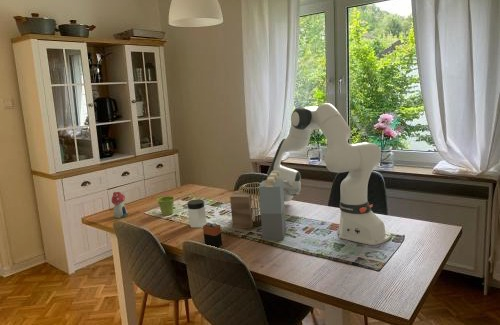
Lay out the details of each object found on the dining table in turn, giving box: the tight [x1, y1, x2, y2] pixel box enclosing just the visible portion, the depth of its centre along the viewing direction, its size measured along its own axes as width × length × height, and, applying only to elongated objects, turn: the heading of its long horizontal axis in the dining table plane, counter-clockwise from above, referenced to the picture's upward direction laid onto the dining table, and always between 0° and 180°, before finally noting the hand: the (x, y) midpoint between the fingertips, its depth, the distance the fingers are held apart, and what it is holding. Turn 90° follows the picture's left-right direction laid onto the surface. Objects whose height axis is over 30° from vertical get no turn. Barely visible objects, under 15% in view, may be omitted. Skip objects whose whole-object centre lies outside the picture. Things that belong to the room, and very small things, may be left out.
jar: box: [186, 198, 208, 229], centre depth 192 cm, size 9×8×12 cm
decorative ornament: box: [111, 191, 129, 219], centre depth 213 cm, size 9×6×15 cm
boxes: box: [229, 180, 287, 241], centre depth 179 cm, size 23×26×24 cm
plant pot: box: [156, 195, 176, 216], centre depth 212 cm, size 9×9×9 cm
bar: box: [264, 171, 279, 187], centre depth 171 cm, size 18×3×2 cm, turn 168°
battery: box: [202, 222, 223, 248], centre depth 166 cm, size 4×7×10 cm, turn 55°
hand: (278, 182), depth 188 cm, fingers open, 8 cm apart
